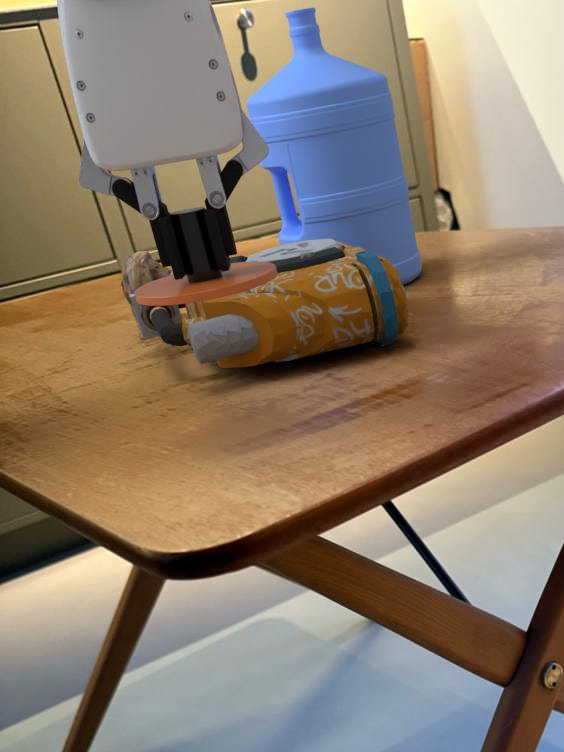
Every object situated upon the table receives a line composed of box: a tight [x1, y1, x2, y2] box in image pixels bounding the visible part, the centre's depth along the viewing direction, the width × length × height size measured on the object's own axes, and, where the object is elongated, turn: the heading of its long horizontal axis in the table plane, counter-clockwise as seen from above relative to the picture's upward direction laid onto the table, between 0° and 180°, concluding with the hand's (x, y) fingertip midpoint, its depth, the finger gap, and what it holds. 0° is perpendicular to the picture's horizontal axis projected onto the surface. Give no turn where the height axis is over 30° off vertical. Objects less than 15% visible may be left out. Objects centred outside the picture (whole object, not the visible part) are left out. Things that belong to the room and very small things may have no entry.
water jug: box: [246, 6, 423, 286], centre depth 115 cm, size 16×16×28 cm
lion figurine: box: [120, 250, 172, 340], centre depth 117 cm, size 15×5×9 cm, turn 24°
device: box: [130, 239, 409, 369], centre depth 100 cm, size 23×8×30 cm
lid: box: [134, 206, 278, 306], centre depth 72 cm, size 10×10×5 cm
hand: (202, 269), depth 73 cm, fingers closed on lid, 2 cm apart
